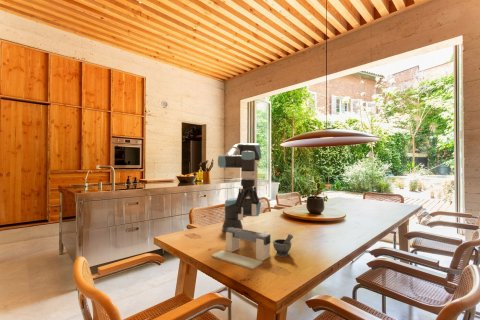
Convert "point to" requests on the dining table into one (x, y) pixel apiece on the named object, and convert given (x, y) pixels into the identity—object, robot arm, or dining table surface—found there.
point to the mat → (237, 259)
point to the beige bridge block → (231, 242)
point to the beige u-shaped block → (262, 250)
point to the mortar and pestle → (282, 246)
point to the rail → (248, 235)
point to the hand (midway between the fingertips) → (247, 217)
